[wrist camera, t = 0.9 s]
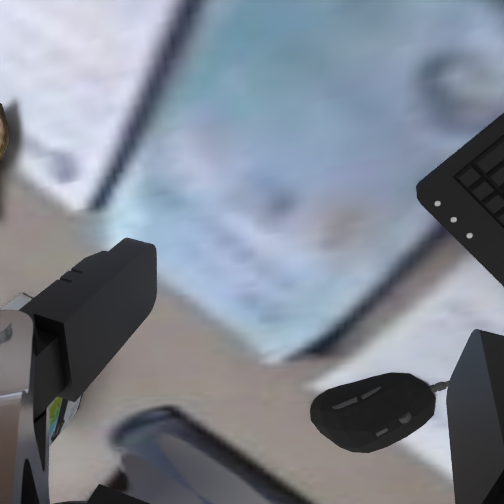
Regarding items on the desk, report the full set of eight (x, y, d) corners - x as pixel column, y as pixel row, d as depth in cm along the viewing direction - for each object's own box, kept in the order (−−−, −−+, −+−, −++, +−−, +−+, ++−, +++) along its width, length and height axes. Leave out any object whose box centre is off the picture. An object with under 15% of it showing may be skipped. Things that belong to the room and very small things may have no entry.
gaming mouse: (482, 402, 38) (489, 440, 35) (334, 440, 45) (328, 475, 42) (445, 347, 37) (449, 381, 33) (299, 396, 44) (290, 428, 41)
